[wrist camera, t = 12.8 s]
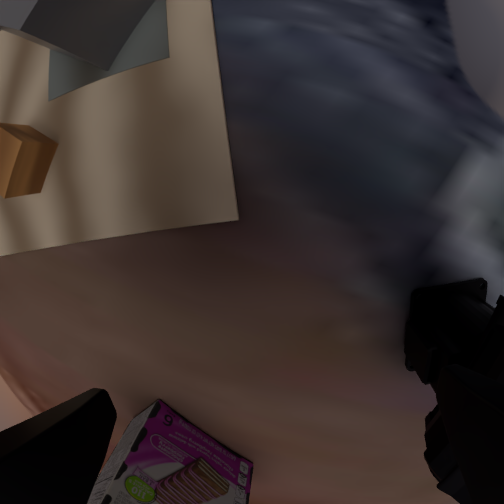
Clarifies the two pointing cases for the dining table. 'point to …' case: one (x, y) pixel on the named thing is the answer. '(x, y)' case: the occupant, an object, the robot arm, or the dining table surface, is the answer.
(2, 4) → the charcoal cover
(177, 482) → the candy bar box
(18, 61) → the birch board
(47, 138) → the orange block
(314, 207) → the dining table surface
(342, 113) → the dining table surface
